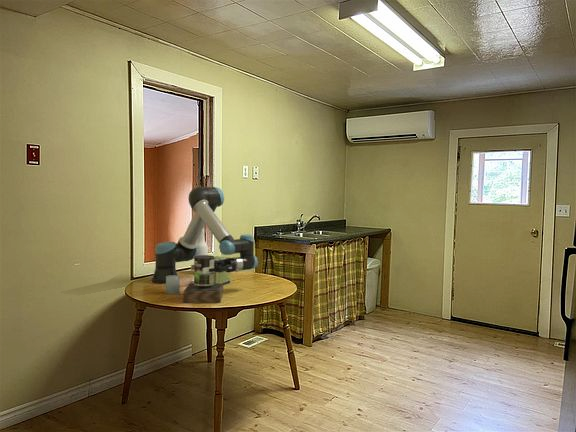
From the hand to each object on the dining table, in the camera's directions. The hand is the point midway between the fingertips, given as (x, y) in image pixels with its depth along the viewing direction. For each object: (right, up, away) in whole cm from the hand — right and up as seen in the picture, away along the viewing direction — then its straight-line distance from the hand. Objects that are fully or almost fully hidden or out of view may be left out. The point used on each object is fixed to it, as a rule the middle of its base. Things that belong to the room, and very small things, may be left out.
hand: (197, 269), depth 215 cm
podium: (+3, -15, +4) cm, 16 cm away
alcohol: (-12, -12, +71) cm, 73 cm away
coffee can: (+3, -8, +3) cm, 9 cm away
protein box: (+3, -14, +38) cm, 41 cm away
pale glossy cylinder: (-16, -15, +14) cm, 26 cm away
